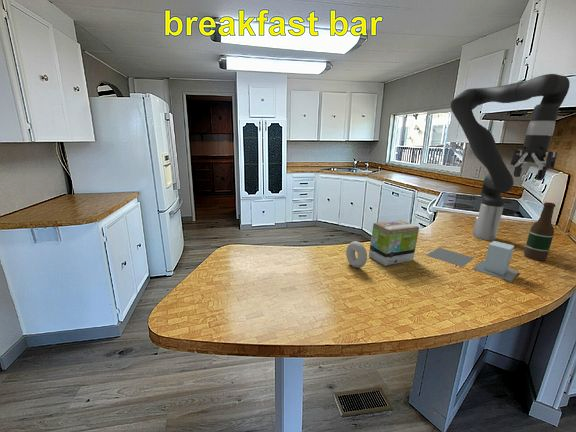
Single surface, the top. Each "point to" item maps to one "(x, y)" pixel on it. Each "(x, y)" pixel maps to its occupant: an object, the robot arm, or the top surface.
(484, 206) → the robot arm
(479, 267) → the gray plate with knob
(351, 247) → the donut
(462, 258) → the mat
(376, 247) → the tea box
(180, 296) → the top surface
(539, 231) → the beer bottle
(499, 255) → the light gray block
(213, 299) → the top surface
